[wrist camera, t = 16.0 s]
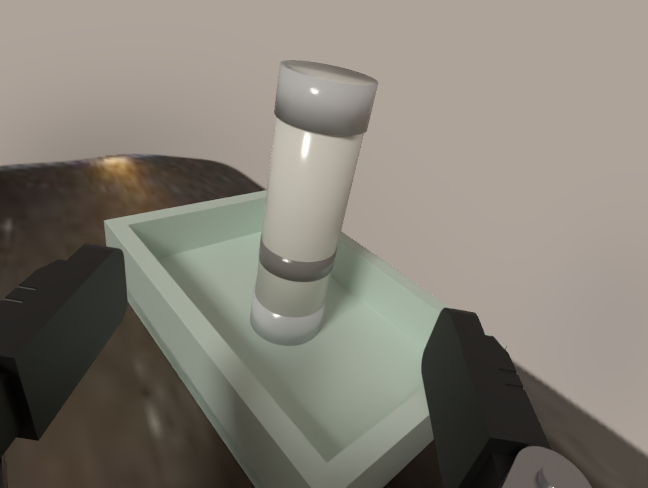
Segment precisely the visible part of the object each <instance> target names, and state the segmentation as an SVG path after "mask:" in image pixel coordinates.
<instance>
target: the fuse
mask: <svg viewBox="0 0 648 488" xmlns="http://www.w3.org/2000/svg"><path fill="white" fill-rule="evenodd" d="M377 85H378V82H377V81H376V80H375V79H373V78H371V77H369V76H367V75H365V74H361V73H359V72H355V71H352V70H349V69H345V68H340V67H337V66H332V65H327V64H321V63H315V62H307V61H294V60H289V61H282V62H281V63H280V68H279V76H278V85H277V94H276V102H275V110H274V113H275V115H276V122H275V129H274V137H273V146H272V154H271V162H270V170H269V178H268V187H267V195H266V203H265V211H264V220H263V228H262V233H261V239H260V248H259V261H258V269H257V277H256V284H255V285H254V288H253V295H252V304H251V312H250V323H251V326H252V328H253V330H254V331H255V332H256V333H257V334H258V335H259V336H260V337H261V338H263V339H265V340H266V341H268V342H271V343H274V344H277V345H283V346H296V345H301V344H304V343H307V342H309V341H310V340H312V339H313V338H314V337H315V336H316V335H317V334H318V332H319V329H320V326H321V321H322V317H323V313H324V309H325V304H326V293H327V288H328V284H329V280H330V275H331V271H332V269H333V265H334V261H335V257H336V252H337V248H338V247H337V246H338V241H339V237H340V233H341V229H342V224H343V220H344V216H345V211H346V207H347V203H348V198H349V194H350V190H351V186H352V182H353V177H354V173H355V169H356V165H357V160H358V156H359V151H360V148H361V143H362V139H363V134H364V133H365V132H366V131H367V127H368V123H369V119H370V115H371V111H372V107H373V102H374V98H375V94H376V90H377Z"/></svg>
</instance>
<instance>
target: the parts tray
mask: <svg viewBox="0 0 648 488" xmlns="http://www.w3.org/2000/svg"><path fill="white" fill-rule="evenodd" d="M266 195H267V190H266V191H260V192H255V193H250V194H244V195H239V196H233V197H228V198H223V199H217V200H212V201H206V202H201V203H196V204H190V205H185V206H179V207H174V208H169V209H163V210H158V211H152V212H147V213H142V214H136V215H131V216H125V217H120V218H115V219H109V220H104V226H105V236H106V245H107V246H108V247H114V248H119V249H121V250H122V251H123V254H124V262H125V274H126V286H127V301H128V302H129V304H130V305H131V306H132V308H133V309H134V311H135V312H136V314H137V315H138V317H139V318H140V320H141V321H142V323H143V324H144V326H145V327H146V328H147V330H148V331H149V333H150V334H151V336H152V337H153V339H154V340H155V342H156V343H157V345H158V346H159V348H160V349H161V350H162V352H163V353H164V355H165V356H166V358H167V359H168V361H169V362H170V364H171V365H172V367H173V368H174V369H175V371H176V372H177V374H178V375H179V377H180V378H181V380H182V381H183V383H184V384H185V386H186V387H187V389H188V390H189V391H190V393H191V394H192V396H193V397H194V399H195V400H196V402H197V403H198V405H199V406H200V408H201V409H202V411H203V412H204V413H205V415H206V416H207V418H208V419H209V421H210V422H211V424H212V425H213V427H214V428H215V430H216V431H217V433H218V434H219V435H220V437H221V438H222V440H223V441H224V443H225V444H226V446H227V447H228V449H229V450H230V452H231V453H232V455H233V456H234V457H235V459H236V460H237V462H238V463H239V465H240V466H241V468H242V469H243V471H244V472H245V474H246V475H247V477H248V478H249V479H250V481H251V482H252V484H253V485H254V487H255V488H383V487H384V486H385V485H386V484H387V483H388V482H390V481H391V480H392V479H393V478H394V477H395V476H396V475H397V474H398V473H399V472H400V471H401V470H402V469H403V468H404V467H405V466H406V465H407V464H408V463H409V462H411V461H412V460H413V459H414V458H415V457H416V456H417V455H418V454H419V453H420V452H421V451H422V450H423V449H424V448H425V447H426V446H427V445H428V444H429V443H430V442H432V441H433V440H434V436H433V431H432V426H431V421H430V416H429V410H428V405H427V400H426V395H425V390H424V385H423V379H422V374H421V363H422V356H423V352H424V349H425V347H426V344H427V342H428V340H429V337H430V335H431V333H432V330H433V328H434V326H435V323H436V321H437V319H438V316H439V314H440V312H441V310H442V309H443V308H451V307H449V306H448V305H446V304H445V303H444V302H442V301H441V300H439V299H438V298H436V297H435V296H434V295H432V294H431V293H429V292H428V291H426V290H425V289H423V288H422V287H421V286H419V285H417V284H416V283H415V282H413V281H412V280H410V279H409V278H407V277H406V276H405V275H403V274H402V273H400V272H399V271H397V270H396V269H394V268H393V267H392V266H390V265H389V264H387V263H386V262H384V261H383V260H382V259H380V258H379V257H377V256H376V255H374V254H373V253H371V252H370V251H368V250H367V249H366V248H364V247H363V246H361V245H360V244H359V243H357V242H356V241H354V240H353V239H351V238H350V237H348V236H347V235H346V234H344V233H343V232H341V233H340V237H339V241H338V246H337V247H338V248H337V252H336V257H335V261H334V265H333V269H332V271H331V275H330V280H329V284H328V288H327V293H326V304H325V309H324V313H323V317H322V321H321V326H320V329H319V332H318V334H317V335H316V336H315V337H314V338H313V339H312V340H310V341H309V342H307V343H304V344H301V345H296V346H283V345H277V344H274V343H271V342H268V341H266V340H265V339H263V338H261V337H260V336H259V335H258V334H257V333H256V332H255V331H254V330H253V328H252V326H251V323H250V312H251V304H252V295H253V288H254V285H255V284H256V277H257V269H258V261H259V248H260V239H261V233H262V228H263V220H264V211H265V203H266ZM483 331H484V330H483ZM484 333H485V335H488V336H491V335H489V334H488V333H487V332H485V331H484ZM495 339H496V338H495ZM496 340H497V339H496ZM497 341H498V340H497ZM498 342H499V343H500V344H501V346H502V347H503V348H504V349H506V348H507V346H506V345H504V344H503V343H501V342H500V341H498Z"/></svg>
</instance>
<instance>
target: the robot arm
mask: <svg viewBox="0 0 648 488" xmlns="http://www.w3.org/2000/svg"><path fill="white" fill-rule="evenodd" d="M126 307H127V286H126V274H125V262H124V254H123V251H122V250H121V249H119V248H114V247H108V246H102V245H97V244H91V243H86V244H84V245H83V246H82V247H81V248H79V249H78V250H77V251H76V252H75V253H74V254H73V255H72V256H71V257H70V258H69V259H68V260H67V261H66V260H60V259H59V260H57V261H55V262H53V263H50V264H48V265H46V266H44V267H42V268H40V269H38V270H36V271H35V272H34V273H32V274H31V275H30V276H29V277H28V278H27V279H26V280H24V281H23V282H22V283H21V284H20V285H19V288H15V289H14V290H13V291H12V292H11V293H10V294H9V295H7V296H6V297H5V300H4V301H1V302H0V488H8V478H7V463H6V456H5V451H6V450H7V449H8V447H9V446H10V445H11V443H12V442H13V441H14V439H15V438H16V437H18V438H25V439H31V440H38V441H39V439H40V438H41V436H42V435H43V433H44V432H45V431H46V429H47V428H48V426H49V425H50V423H51V422H52V420H53V419H54V418H55V416H56V415H57V413H58V412H59V410H60V409H61V408H62V406H63V405H64V403H65V402H66V400H67V399H68V397H69V396H70V395H71V393H72V392H73V390H74V389H75V387H76V386H77V385H78V383H79V382H80V380H81V379H82V377H83V376H84V374H85V373H86V372H87V370H88V369H89V367H90V366H91V364H92V363H93V362H94V360H95V359H96V357H97V356H98V354H99V353H100V351H101V350H102V349H103V347H104V346H105V344H106V343H107V341H108V340H109V339H110V337H111V336H112V334H113V333H114V331H115V330H116V328H117V327H118V326H119V324H120V323H121V321H122V319H123V317H124V314H125V311H126ZM421 374H422V379H423V385H424V390H425V395H426V400H427V405H428V410H429V416H430V421H431V426H432V431H433V436H434V442H435V447H436V452H437V457H438V462H439V468H440V473H441V478H442V483H443V488H592V487H591V486H590V484H589V482H588V481H587V479H586V478H585V477H584V475H583V474H582V473H581V472H580V471H579V470H578V469H577V467H575V466H574V465H573V464H572V463H571V462H570V461H569V460H567V459H566V458H565V457H563V456H561V455H560V454H558V453H556V452H554V451H552V450H551V448H550V445H549V443H548V441H547V439H546V437H545V434H544V432H543V430H542V428H541V425H540V423H539V421H538V419H537V416H536V414H535V412H534V410H533V407H532V405H531V403H530V401H529V398H528V396H527V394H526V392H525V390H523V385H522V383H521V381H520V378H519V376H518V375H516V369H515V367H514V365H513V363H512V360H511V358H510V356H509V354H508V352H507V351H506V350H505V349H504V348H503V347H502V346H501V344H500V343H499V342H498V341H497V340H496V339H495V338H494V337H493V336H488V335H485V333H484V331H483V328H482V326H481V323H480V321H479V318H478V316H477V315H476V313H473V312H468V311H462V310H457V309H452V308H443V309H442V310H441V312H440V314H439V316H438V319H437V321H436V323H435V326H434V328H433V330H432V333H431V335H430V337H429V340H428V342H427V344H426V347H425V349H424V352H423V356H422V363H421Z"/></svg>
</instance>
